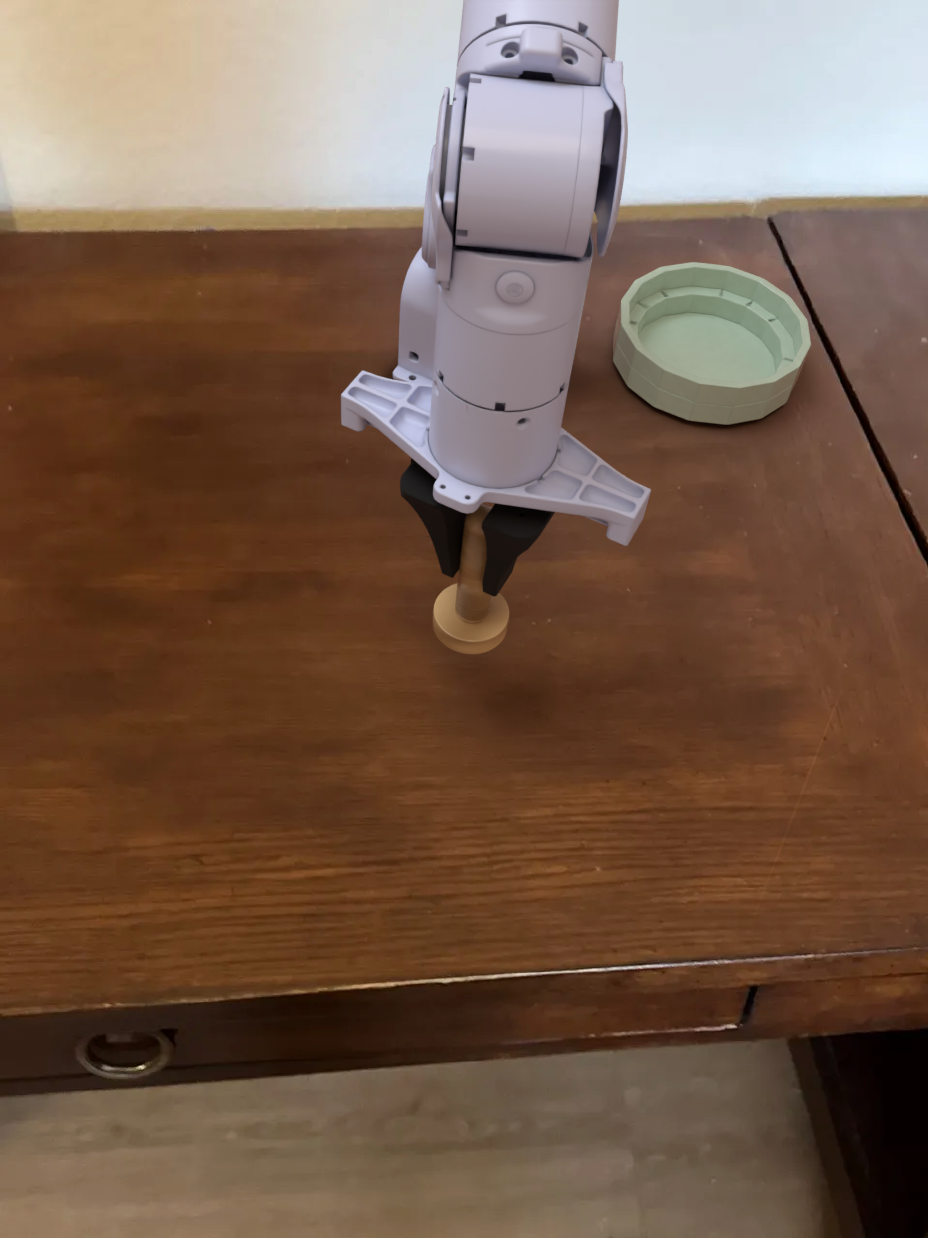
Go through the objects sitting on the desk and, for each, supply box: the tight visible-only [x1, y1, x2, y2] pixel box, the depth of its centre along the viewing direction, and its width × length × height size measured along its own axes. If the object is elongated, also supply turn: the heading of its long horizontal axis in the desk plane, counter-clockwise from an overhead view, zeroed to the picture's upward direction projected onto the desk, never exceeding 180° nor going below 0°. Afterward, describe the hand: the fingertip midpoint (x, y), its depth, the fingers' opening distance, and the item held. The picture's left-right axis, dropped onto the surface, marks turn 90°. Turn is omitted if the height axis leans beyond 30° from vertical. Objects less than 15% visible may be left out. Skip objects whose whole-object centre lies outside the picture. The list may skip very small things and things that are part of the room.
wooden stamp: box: [432, 504, 510, 655], centre depth 61 cm, size 4×4×9 cm
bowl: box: [612, 261, 812, 426], centre depth 86 cm, size 13×13×4 cm
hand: (476, 571), depth 61 cm, fingers closed on wooden stamp, 2 cm apart
